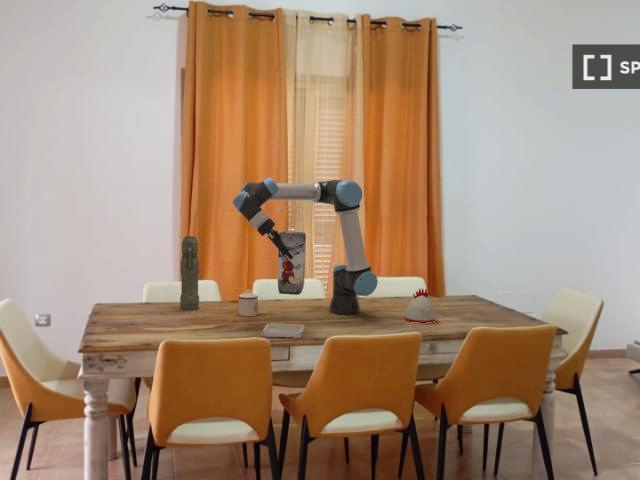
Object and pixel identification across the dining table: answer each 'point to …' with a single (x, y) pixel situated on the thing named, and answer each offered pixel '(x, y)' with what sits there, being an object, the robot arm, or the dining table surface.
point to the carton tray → (283, 330)
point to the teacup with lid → (248, 304)
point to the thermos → (189, 274)
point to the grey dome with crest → (420, 308)
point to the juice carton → (287, 272)
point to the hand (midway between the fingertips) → (299, 263)
